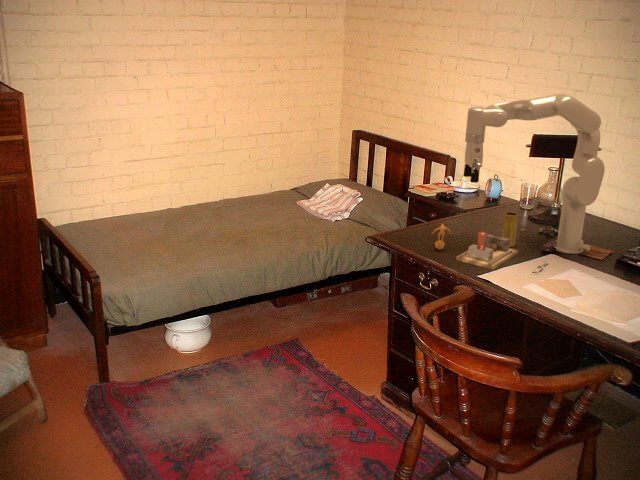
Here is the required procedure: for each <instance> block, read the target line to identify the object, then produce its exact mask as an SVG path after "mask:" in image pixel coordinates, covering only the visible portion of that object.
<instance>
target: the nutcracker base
mask: <svg viewBox="0 0 640 480" xmlns="http://www.w3.org/2000/svg"><path fill="white" fill-rule="evenodd" d="M509 244H510V239H507V238H503V237H502V236H498V235H494V234H490V233H487V235H486V244H485V247H486V248H490V249H494V250H493V259H491V260H489V261H485V260H481V259H478V258H474V257H470V256H468V250H465V251H464V252H462V253H461V254H458V255H457V256H456V258H455V259H456V261H458V262H463V263H466V264H470V265H474V266H477V267H480V268H481V267H482V268H485V269H488V270H491V271H492V270H495V269H496V268H498V267H499V266H500V265H502V264H504V263H505V262H507V261H509V260H510V259H511V258H512V259H513V258H514V257H515V256H517V255H518V253H519V250H518V249H515V248H511V247H509Z"/></svg>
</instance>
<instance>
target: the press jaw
mask: <svg viewBox="0 0 640 480" xmlns="http://www.w3.org/2000/svg"><path fill="white" fill-rule="evenodd" d="M477 234H478V235H477V244H471V245H469V246H468V248H467V249H468V250H467V251H468V256H470V257H474V258H478V259H481V260H485V261H489V260H491V259H493V250H494V249H490V248H486V247H485V244H486V235H487V234H488V233H487V232H486V231H478V233H477Z"/></svg>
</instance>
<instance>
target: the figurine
mask: <svg viewBox="0 0 640 480" xmlns="http://www.w3.org/2000/svg"><path fill="white" fill-rule="evenodd" d="M438 230H439V232H438V234H437V237H438V240H437V241H436V242H435V244H434V246H435V249H437V250H439V251H440V250H443V249H444V247H445V241H444V236H445V234H446V232H445V231H449V233H450V235H452V232H451V229H450V228H448V227H446V226H445V225H444V223H441V225H440V226H439V227H438V228H436V229H434V230H433V231H432V233H431V235H433V234H434V233H435V232H436V231H438ZM441 235H442V237H440V236H441Z"/></svg>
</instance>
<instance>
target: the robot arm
mask: <svg viewBox="0 0 640 480" xmlns="http://www.w3.org/2000/svg"><path fill="white" fill-rule="evenodd" d="M558 116H559V117H561V118H563V119H565V120H566V121H567V122H568V123H570V125H571V127H573V128H574V130H575V132H576V133H577V142H576V147H575V151H574V155H573V158H572V162H571V169H572V170H573V172H574V173H575V174H576V175H579V176H571V177H569V178H568V179H566V180H565V181H564V183H563V185H562V189H561V190H562V193H561V194H562V198H561V199H562V200H561V201H562V204H561V212H560V218H559V226H558V233H557V239H556V242H557V247H555V248H556V250H555V251H556V252H560V253H564V254H569V255H570V254H572V255H574V254H575V255H576V254H582V253H584V251H590V250H591V246H590V244H586V243H584V240H583V239H582V236H583V230H584V224H585V216H586V211H587V210H586V207H588V206H591V205H593V204H594V203H595V202H596V200H597V198H598V196H599V193H600V189H601V187H602V182H603V179H604V175H605V169H606V168H605V164H604V161H603V159H601V158H600V157H598V152H599V149H600V143H601V130H600V127H601V125H602V119H601V117H600V115H599V114H598V113H597V112H596V111H594V110H593V109H591V108H590V107H588V106H587V105H586V104H585V103H583V102H581V101H580V100H578V99H577V98H575V97H574V96H572V95H569V94H565V93H557V94H550V95H545V96H540V97H535V98H529V99H522V100H521V99H519V100H512V101H506V102H505V101H504V102H500V103H499V102H498V103H495V104H491V105H488V106H486V107H483V106H482V107H480V106H473V107H470V108H468V111H467V117H466V118H467V120H466V129H465V141H464V142H466V143H465V152H464V168H463V169H464V170H463V171H464V172H463V177H465V178H467V177H468V178H469V177H470V179H469V180H470V183H479V180H480V179H479V177H480V174H481V173H480V170H481V168H482V167H483V161H484V160H483V158H484V157H483V156H484V143H485V136H486V128H487V127H492V128H502V127H504V126H505V125H506V124H507V122H508V121H511V120H521V121H537V120H541V119H542V120H543V119H547V118H553V117H558ZM486 126H487V127H486Z"/></svg>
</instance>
